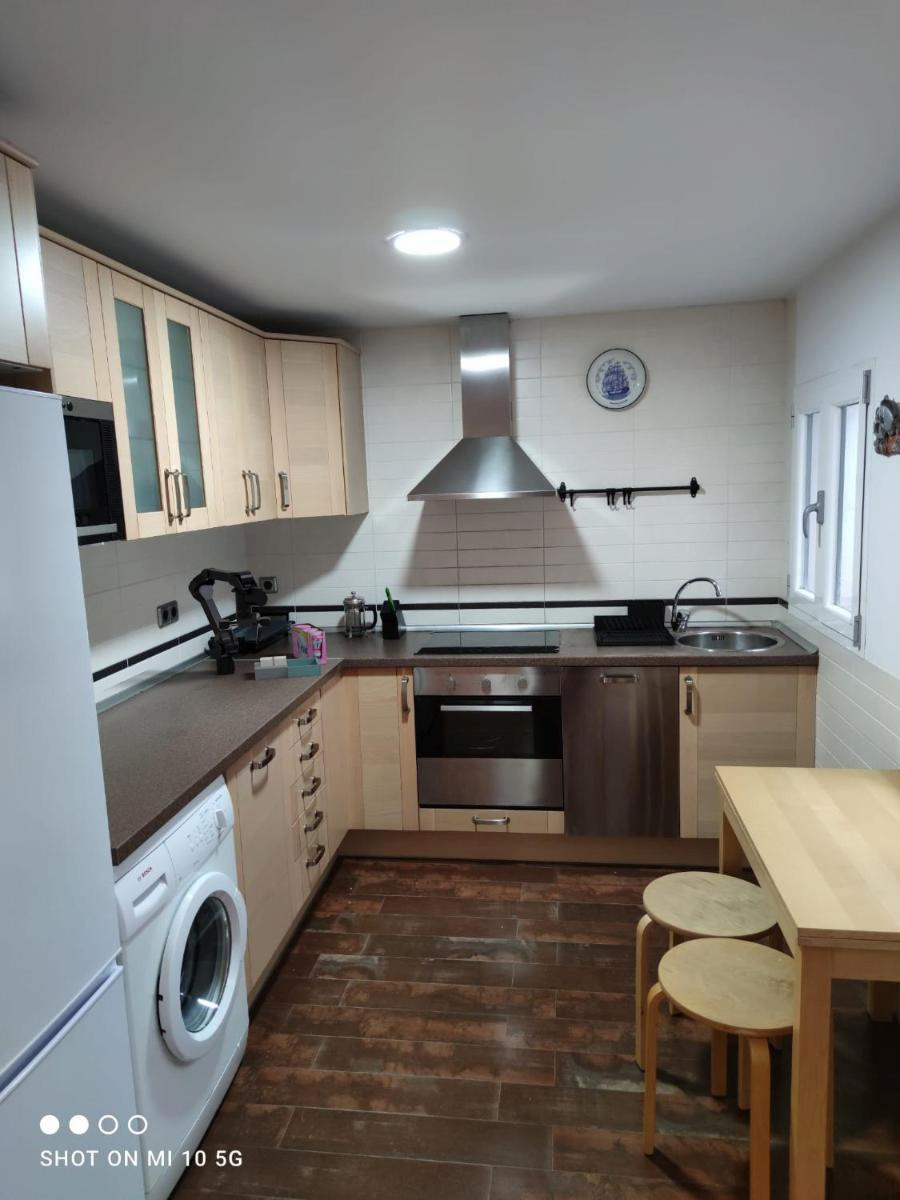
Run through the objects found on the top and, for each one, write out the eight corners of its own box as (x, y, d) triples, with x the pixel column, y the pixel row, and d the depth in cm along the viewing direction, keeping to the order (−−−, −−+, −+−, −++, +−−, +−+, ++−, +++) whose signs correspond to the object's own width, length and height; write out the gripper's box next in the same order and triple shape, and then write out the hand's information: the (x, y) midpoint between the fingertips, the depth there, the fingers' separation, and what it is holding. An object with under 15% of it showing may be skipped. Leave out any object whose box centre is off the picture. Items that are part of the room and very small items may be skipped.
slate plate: (255, 679, 290) (254, 669, 289) (254, 672, 301) (254, 662, 301) (288, 677, 293) (287, 666, 292) (286, 670, 304) (286, 660, 304)
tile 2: (274, 665, 295) (274, 659, 294) (274, 663, 299) (273, 656, 299) (286, 664, 296) (286, 658, 295) (285, 662, 300) (285, 655, 300)
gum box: (328, 664, 313) (326, 631, 311) (309, 667, 309) (307, 633, 307) (310, 653, 334) (309, 622, 332) (292, 656, 331) (291, 624, 329)
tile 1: (260, 666, 293) (260, 660, 293) (260, 664, 298) (260, 657, 297) (273, 665, 294) (272, 659, 294) (272, 663, 299) (272, 656, 298)
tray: (288, 677, 292) (287, 667, 291) (286, 669, 305) (285, 659, 305) (320, 675, 295) (320, 664, 294) (317, 667, 308) (317, 657, 308)
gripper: (217, 609, 281) (220, 651, 283) (270, 606, 286) (272, 647, 288) (217, 605, 291) (220, 646, 294) (268, 602, 297) (270, 642, 299)
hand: (246, 645), depth 293 cm, fingers open, 8 cm apart
